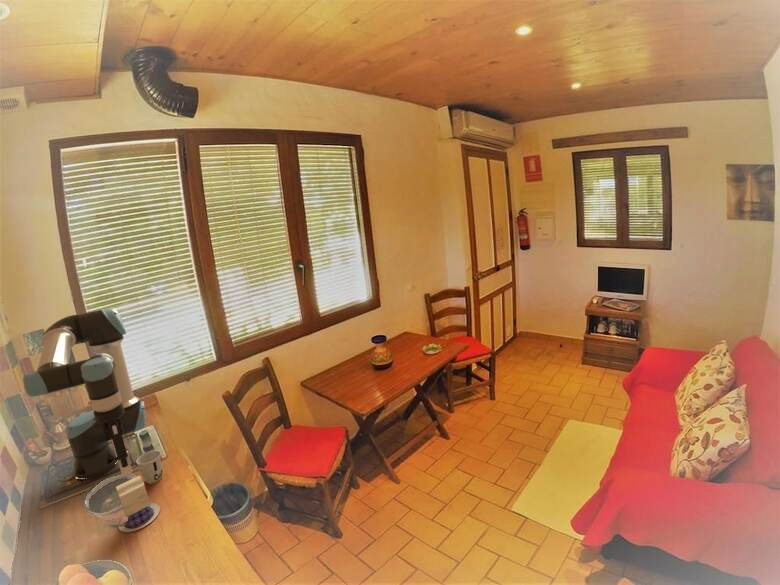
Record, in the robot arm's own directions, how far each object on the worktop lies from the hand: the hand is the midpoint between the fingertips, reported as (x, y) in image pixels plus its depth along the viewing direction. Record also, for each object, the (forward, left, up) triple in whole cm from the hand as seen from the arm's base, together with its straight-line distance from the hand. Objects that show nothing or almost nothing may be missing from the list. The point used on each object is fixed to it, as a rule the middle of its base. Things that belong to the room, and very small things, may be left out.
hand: (124, 463), depth 123 cm
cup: (-19, +8, -22) cm, 30 cm away
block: (0, 0, -17) cm, 17 cm away
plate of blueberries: (0, 0, -22) cm, 22 cm away
